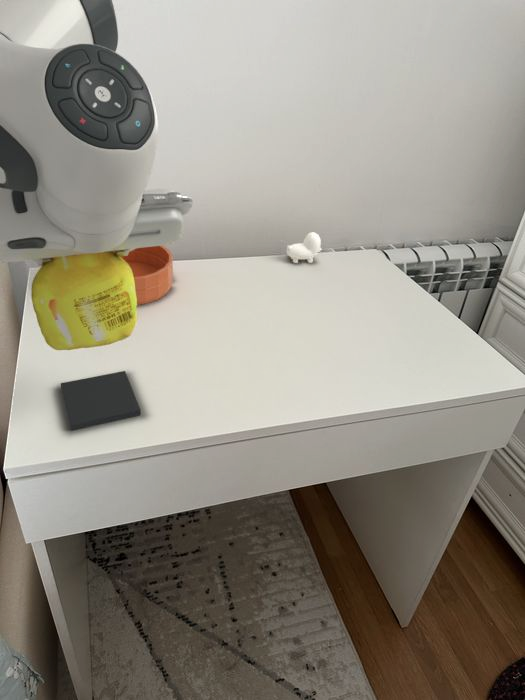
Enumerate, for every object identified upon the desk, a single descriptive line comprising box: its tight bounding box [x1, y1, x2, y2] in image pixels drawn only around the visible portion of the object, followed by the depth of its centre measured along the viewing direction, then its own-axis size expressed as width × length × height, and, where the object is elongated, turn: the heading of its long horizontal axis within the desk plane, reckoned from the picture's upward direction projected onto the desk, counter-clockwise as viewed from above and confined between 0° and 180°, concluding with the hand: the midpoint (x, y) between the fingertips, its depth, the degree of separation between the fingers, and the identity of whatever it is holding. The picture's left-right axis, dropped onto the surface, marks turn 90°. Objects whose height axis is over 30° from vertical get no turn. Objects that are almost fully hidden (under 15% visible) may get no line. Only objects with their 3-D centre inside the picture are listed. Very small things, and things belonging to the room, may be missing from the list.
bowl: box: [112, 245, 174, 306], centre depth 99 cm, size 17×17×6 cm
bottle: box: [31, 251, 138, 351], centre depth 62 cm, size 12×6×20 cm, turn 115°
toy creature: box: [286, 231, 323, 264], centre depth 114 cm, size 5×8×6 cm, turn 102°
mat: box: [60, 370, 142, 432], centre depth 73 cm, size 9×9×1 cm
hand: (82, 254), depth 62 cm, fingers closed on bottle, 7 cm apart
